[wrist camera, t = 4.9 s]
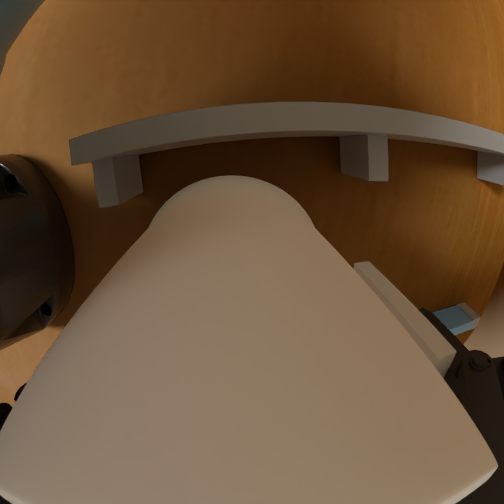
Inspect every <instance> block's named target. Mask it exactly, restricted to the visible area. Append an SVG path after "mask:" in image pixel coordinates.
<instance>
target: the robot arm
mask: <svg viewBox="0 0 504 504" xmlns="http://www.w3.org/2000/svg"><path fill="white" fill-rule="evenodd" d="M44 1H45V0H0V75H1V72H2V70H3V67H4V63H5V59H6V54H7V53H8V51H9V49H10V48H11V46H12V44H13V43H14V41H15V40H16V38H17V37H18V35H19V34H20V32H21V31H22V29H23V28H24V27H25V25H26V24H27V22H28V21H29V20H30V18H31V17H32V16H33V14H34V13H35V12H36V10H37V9H38V8H39V7H40V5H41V4H42V3H43V2H44ZM354 270H355V271H356V272H357V273H358V275H359V276H360V277H361V278H362V279H363V280H364V281H365V282H366V284H367V285H368V286H369V287H370V288H371V289H372V290H373V292H374V293H375V294H376V295H377V296H378V297H379V298H380V300H381V301H382V302H383V303H384V304H385V306H386V307H387V308H388V309H389V310H390V311H391V313H392V314H393V315H394V316H395V317H396V319H397V320H398V321H399V322H400V323H401V325H402V326H403V327H404V328H405V330H406V331H407V332H408V333H409V335H410V336H411V337H412V338H413V340H414V341H415V342H416V343H417V345H418V346H419V347H420V348H421V350H422V351H423V352H424V354H425V355H426V356H427V357H428V359H429V360H430V361H431V363H432V364H433V365H434V367H435V368H436V369H437V371H438V372H439V373H440V375H441V376H442V377H443V379H444V380H445V382H446V383H447V384H448V386H449V387H450V389H451V390H452V391H453V393H454V394H455V396H456V397H457V398H458V400H459V401H460V403H461V404H462V406H463V407H464V409H465V410H466V412H467V413H468V415H469V416H470V418H471V419H472V421H473V422H474V424H475V425H476V427H477V428H478V430H479V432H480V433H481V435H482V436H483V438H484V440H485V441H486V443H487V445H488V446H489V448H490V450H491V452H492V453H493V455H494V457H495V459H496V461H497V464H498V468H497V469H496V470H495V472H494V473H493V474H492V475H491V477H490V478H489V479H488V480H487V481H486V482H484V483H483V484H482V485H481V486H479V487H478V488H477V489H475V490H474V491H473V492H471V493H470V494H469V495H467V496H466V497H464V498H463V499H461V500H460V501H458V502H457V503H455V504H504V357H498V358H491V357H490V356H489V355H488V354H486V353H484V352H482V351H478V350H472V351H469V350H468V349H467V348H466V347H465V346H464V345H463V344H462V343H461V342H460V341H459V340H458V339H457V337H456V336H455V335H454V334H453V333H452V332H451V331H450V330H449V329H447V327H446V326H445V325H444V324H443V323H441V321H440V320H439V319H438V318H437V317H436V316H435V315H434V314H433V313H431V312H429V311H428V310H426V309H424V308H421V309H417V308H416V307H415V306H414V305H413V304H412V303H411V302H410V301H409V300H408V299H407V298H406V297H405V296H404V295H403V294H402V293H401V292H400V291H399V290H398V289H397V288H396V287H395V286H394V285H393V284H392V283H391V282H390V281H389V280H388V279H387V278H386V277H385V276H384V275H383V274H382V273H381V272H380V271H379V270H378V269H376V268H375V267H374V266H373V265H372V264H371V263H370V262H369V261H366V262H358V263H354ZM73 279H74V256H73V247H72V241H71V237H70V232H69V228H68V224H67V221H66V218H65V215H64V212H63V210H62V207H61V205H60V202H59V200H58V198H57V196H56V194H55V192H54V190H53V189H52V187H51V185H50V184H49V182H48V181H47V179H46V178H45V177H44V175H43V174H42V173H41V172H40V171H39V170H38V169H37V168H36V167H35V166H34V165H33V164H32V163H31V162H29V161H28V160H26V159H24V158H22V157H20V156H16V155H1V156H0V350H2V349H4V348H6V347H8V346H10V345H12V344H14V343H16V342H19V341H21V340H23V339H25V338H27V337H29V336H31V335H33V334H35V333H38V332H40V331H42V330H43V329H45V328H46V327H47V326H48V325H50V324H51V323H52V321H53V320H54V319H55V318H56V317H57V315H58V314H59V313H60V312H61V311H62V310H63V308H64V307H65V306H66V304H67V302H68V300H69V297H70V294H71V291H72V286H73ZM26 384H27V383H25V384H24V385H23V386H21V387H20V388H19V389H18V391H17V392H16V394H15V398H14V400H15V401H17V399H18V397H19V396H20V394H21V392H22V391H23V389H24V387H25V386H26ZM11 410H12V407H11V406H10V404H7V403H0V431H1V429H2V427H3V425H4V423H5V421H6V419H7V417H8V415H9V414H10V412H11ZM0 504H12V503H10V502H9V501H7V500H6V499H4V498H3V497H2V496H0Z"/></svg>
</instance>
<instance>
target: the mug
mask: <svg viewBox="0 0 504 504" xmlns="http://www.w3.org/2000/svg"><path fill="white" fill-rule="evenodd" d="M497 468H498V464H497V461H496V459H495V457H494V455H493V453H492V452H491V450H490V448H489V446H488V445H487V443H486V441H485V440H484V438H483V436H482V435H481V433H480V432H479V430H478V428H477V427H476V425H475V424H474V422H473V421H472V419H471V418H470V416H469V415H468V413H467V412H466V410H465V409H464V407H463V406H462V404H461V403H460V401H459V400H458V398H457V397H456V396H455V394H454V393H453V391H452V390H451V389H450V387H449V386H448V384H447V383H446V382H445V380H444V379H443V377H442V376H441V375H440V373H439V372H438V371H437V369H436V368H435V367H434V365H433V364H432V363H431V361H430V360H429V359H428V357H427V356H426V355H425V354H424V352H423V351H422V350H421V348H420V347H419V346H418V345H417V343H416V342H415V341H414V340H413V338H412V337H411V336H410V335H409V333H408V332H407V331H406V330H405V328H404V327H403V326H402V325H401V323H400V322H399V321H398V320H397V319H396V317H395V316H394V315H393V314H392V313H391V311H390V310H389V309H388V308H387V307H386V306H385V304H384V303H383V302H382V301H381V300H380V298H379V297H378V296H377V295H376V294H375V293H374V292H373V290H372V289H371V288H370V287H369V286H368V285H367V284H366V282H365V281H364V280H363V279H362V278H361V277H360V276H359V275H358V273H357V272H356V271H355V270H354V269H353V268H352V267H351V266H350V265H349V264H348V262H347V261H346V260H345V259H344V258H343V257H342V256H341V255H340V254H339V253H338V252H337V251H336V249H335V248H334V247H333V246H332V245H331V244H330V243H329V242H328V241H327V240H326V239H325V238H324V237H323V236H322V235H321V234H320V233H319V232H318V231H317V229H316V228H315V227H314V225H313V223H312V221H311V219H310V217H309V216H308V214H307V213H306V211H305V210H304V209H303V208H302V206H301V205H300V204H299V203H298V202H297V201H296V200H295V199H294V198H292V197H291V196H290V195H289V194H287V193H286V192H285V191H283V190H282V189H280V188H278V187H276V186H275V185H272V184H270V183H268V182H265V181H263V180H260V179H256V178H252V177H247V176H238V175H226V176H216V177H211V178H207V179H204V180H200V181H198V182H195V183H193V184H191V185H189V186H187V187H185V188H183V189H182V190H180V191H179V192H177V193H176V194H174V195H173V196H172V197H171V198H170V199H169V200H167V201H166V202H165V203H164V205H163V206H162V207H161V208H160V209H159V211H158V212H157V213H156V215H155V216H154V218H153V220H152V221H151V223H150V225H149V228H148V229H147V230H146V231H145V232H144V233H143V234H142V235H141V236H140V237H139V238H138V240H137V241H136V242H135V243H134V244H133V245H132V246H131V247H130V248H129V249H128V251H127V252H126V253H125V254H124V255H123V256H122V257H121V258H120V260H119V261H118V262H117V263H116V264H115V265H114V266H113V268H112V269H111V270H110V271H109V272H108V273H107V275H106V276H105V277H104V278H103V279H102V280H101V282H100V283H99V284H98V285H97V287H96V288H95V289H94V290H93V291H92V293H91V294H90V295H89V296H88V298H87V299H86V300H85V301H84V303H83V304H82V305H81V306H80V308H79V309H78V310H77V312H76V313H75V314H74V316H73V317H72V318H71V320H70V321H69V322H68V324H67V325H66V326H65V328H64V329H63V330H62V332H61V333H60V334H59V336H58V337H57V339H56V340H55V341H54V343H53V344H52V346H51V347H50V349H49V350H48V352H47V353H46V355H45V356H44V357H43V359H42V360H41V362H40V364H39V365H38V367H37V368H36V370H35V371H34V373H33V374H32V376H31V378H30V379H29V381H28V382H27V384H26V386H25V387H24V389H23V391H22V392H21V394H20V396H19V397H18V399H17V401H16V403H15V404H14V406H13V408H12V410H11V412H10V414H9V415H8V417H7V419H6V421H5V423H4V425H3V427H2V429H1V431H0V496H2V497H3V498H4V499H6V500H7V501H9V502H10V503H12V504H455V503H457V502H458V501H460V500H461V499H463V498H464V497H466V496H467V495H469V494H470V493H471V492H473V491H474V490H475V489H477V488H478V487H479V486H481V485H482V484H483V483H484V482H486V481H487V480H488V479H489V478H490V477H491V475H492V474H493V473H494V472H495V470H496V469H497Z"/></svg>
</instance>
